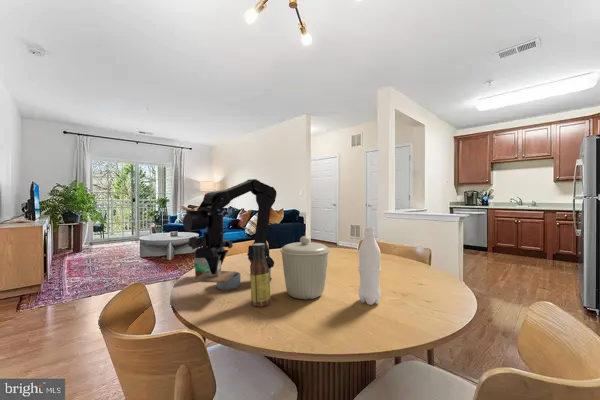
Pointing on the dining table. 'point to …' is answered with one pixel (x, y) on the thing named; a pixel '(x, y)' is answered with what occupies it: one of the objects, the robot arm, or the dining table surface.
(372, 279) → the water bottle
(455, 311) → the dining table surface
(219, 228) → the robot arm
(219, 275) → the lid
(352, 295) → the dining table surface
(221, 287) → the bowl
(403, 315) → the dining table surface
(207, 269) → the food container
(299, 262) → the canister
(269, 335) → the dining table surface
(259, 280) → the sauce bottle
